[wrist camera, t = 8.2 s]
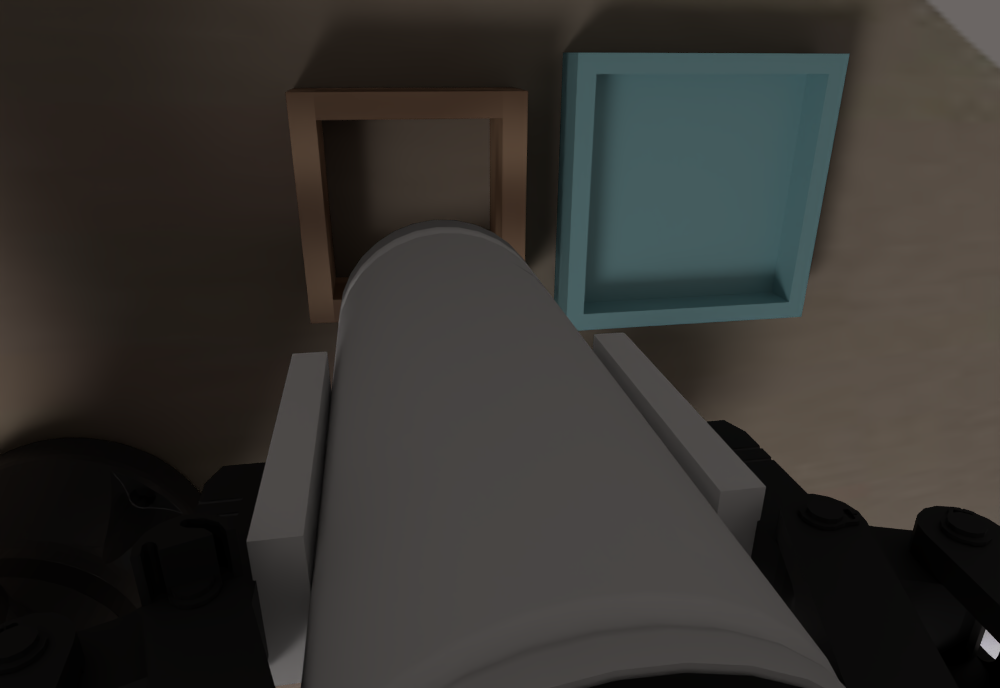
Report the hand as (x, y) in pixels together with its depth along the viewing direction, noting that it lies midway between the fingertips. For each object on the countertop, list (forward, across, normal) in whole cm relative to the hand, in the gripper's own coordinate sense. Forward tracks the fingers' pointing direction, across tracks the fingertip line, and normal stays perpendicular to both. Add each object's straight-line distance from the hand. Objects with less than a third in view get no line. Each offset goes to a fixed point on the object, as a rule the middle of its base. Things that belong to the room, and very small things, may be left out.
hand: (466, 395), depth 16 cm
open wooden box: (+25, 0, 0) cm, 25 cm away
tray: (+25, -16, 0) cm, 30 cm away
